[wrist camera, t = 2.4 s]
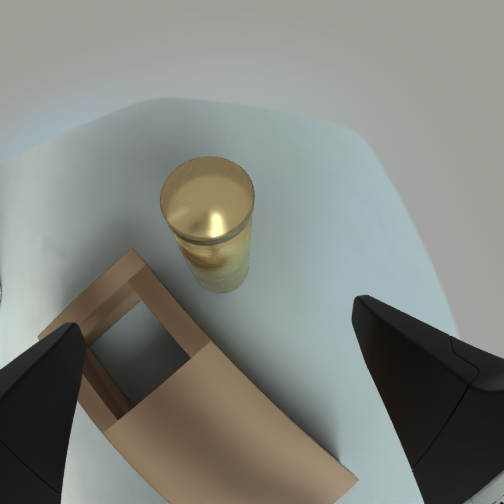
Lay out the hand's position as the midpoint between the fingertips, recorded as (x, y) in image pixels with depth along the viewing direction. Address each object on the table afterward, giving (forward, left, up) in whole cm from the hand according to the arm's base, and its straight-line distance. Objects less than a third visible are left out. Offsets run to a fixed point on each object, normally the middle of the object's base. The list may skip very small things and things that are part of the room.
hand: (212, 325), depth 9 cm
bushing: (+3, +5, -12) cm, 13 cm away
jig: (-5, -2, -12) cm, 13 cm away
